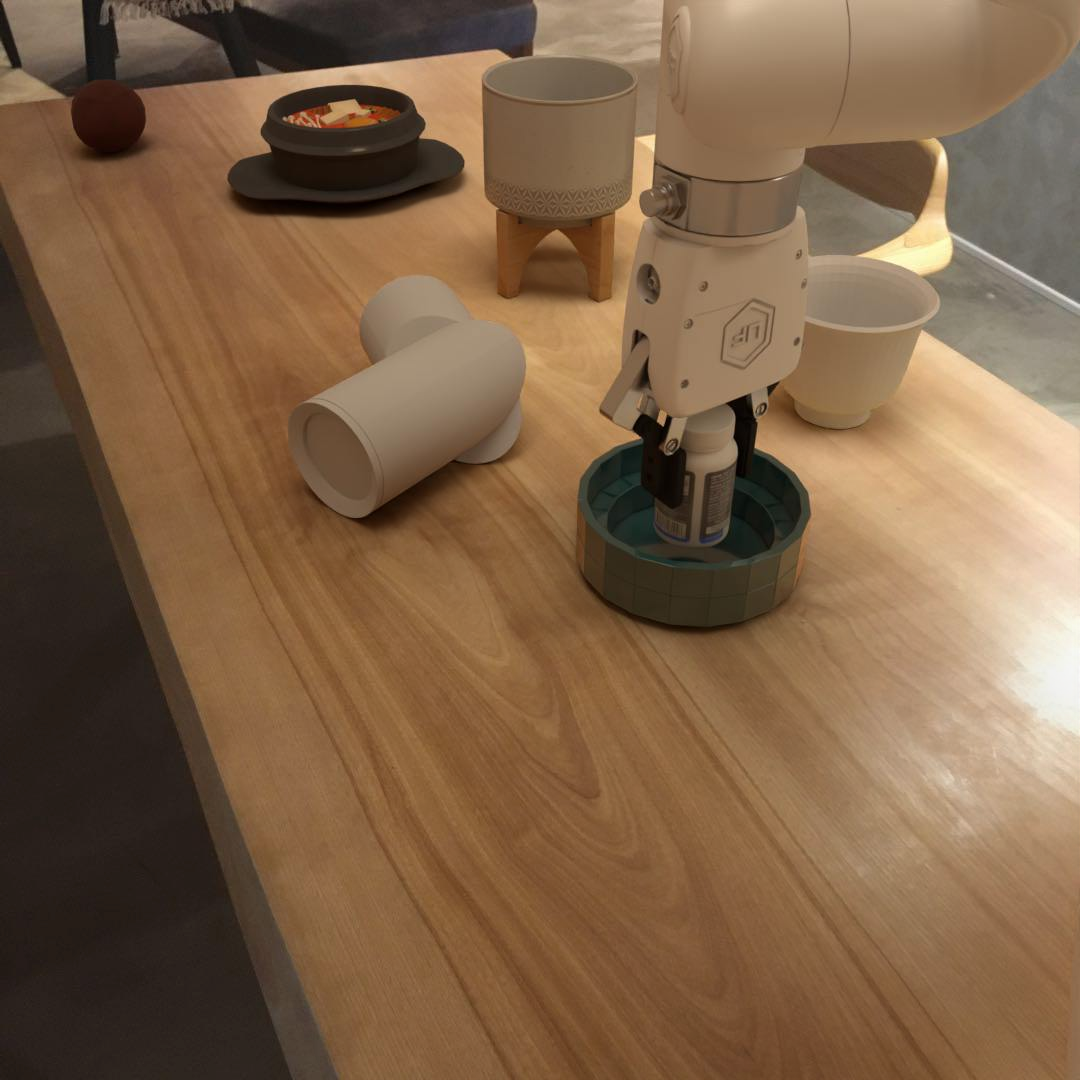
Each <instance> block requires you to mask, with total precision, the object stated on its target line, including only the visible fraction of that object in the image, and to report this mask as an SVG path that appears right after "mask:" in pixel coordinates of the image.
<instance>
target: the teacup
mask: <svg viewBox="0 0 1080 1080" xmlns="http://www.w3.org/2000/svg"><path fill="white" fill-rule="evenodd" d="M940 306H941V300H940V297H939V294H938V292H937V290H935V288H934V286H933V285H931V283H930V282H929V281H928V280H927V279H925V278H924V277H923V276H922V275H920V274H918V273H916V272H915V271H913V270H911V269H909V268H907V267H904V266H902V265H899V264H897V263H892V262H890V261H885V260H882V259H877V258H873V257H866V256H858V255H849V254H848V255H847V254H827V255H826V254H825V255H815V256H810V257H809V256H808V290H807V303H806V314H805V325H804V333H803V340H804V343H805V345H804V349H803V350H802V352H801V353H800V358H799V362H798V364H797V367H796V368H795V370H794V371H793V372H792V373H791V374H789V375H788V376H787V377H785V378H784V379H782V380H781V381H780V383H781V385H782V386H783V388H784V390H785V391H786V392H787V394H788V395H789V396H791V397H792V398H793V399H794V403H793V405H794V410H795V411H796V414H798V416H799V417H800V418H802V419H803V420H805V421H806V422H808V423H810V424H812V425H815V426H818V427H821V428H826V429H833V430H834V429H835V430H845V429H851V428H856V427H858V426H861V425H864V423H866V422H867V421H868V420H869V418H870V417H871V414H872V412H871V411H872V410H876V409H878V408H879V407H882V406H883V405H884V404H886V403H887V402H889V401H890V399H891V398H893V396H894V395H895V394H896V393H897V391H898V389H899V388H900V386H901V384H902V382H903V379H904V377H905V376H906V373H907V371H908V368H909V365H910V362H911V359H912V356H913V354H914V351H915V348H916V345H917V342H918V340H919V337H920V335H921V333H922V331H923V328H924V326H925V324H926V323H927V322H928V321H929V320H931V319H932V318H933V317H934V316H935V315H936V314H937V313H938V311H939V310H940Z"/></svg>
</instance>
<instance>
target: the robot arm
mask: <svg viewBox="0 0 1080 1080" xmlns="http://www.w3.org/2000/svg"><path fill="white" fill-rule="evenodd" d="M662 6H663V7H662V20H661V22H662V23H661V35H660V37H661V39H660V51H659V52H660V53H659V54H660V55H659V68H658V69H659V70H658V85H657V86H658V87H657V103H656V119H655V134H654V152H653V164H652V165H653V166H652V181H651V182H652V184H651V188H648V189H645V190H642V191H641V192H640V195H639V197H638V202H639V208H640V210H641V213H642V214H643V216H645V217H646V219H644V220H643V222H642V225H641V229H640V232H639V236H638V240H637V244H636V248H635V251H634V257H633V261H632V265H631V271H630V277H629V282H628V288H627V294H626V302H625V309H624V318H623V324H622V325H623V326H622V339H621V356H620V357H621V359H620V360H621V369H620V371H619V373H618V374H617V376H616V378H615V380H614V381H613V382H612V384H611V386H610V388H609V390H608V391H607V393H606V395H604V398H603V399H602V401H601V403H600V405H599V408H598V411H599V414H600V415H602V416H603V417H604V418H606V419H607V420H609V421H610V422H611V423H612V424H615V425H616V426H618V427H620V428H623V429H625V430H627V431H629V432H632V433H634V434H636V435H637V436H639V438H643V450H642V465H641V485H642V487H643V488H644V489H645V490H646V491H648V492H649V493H650V494H652V495H653V496H654V497H656V498H657V499H658V500H660V501H661V502H662V503H664V504H665V505H666V506H668V507H669V508H670V509H674V508H676V507H679V506H680V505H681V503H682V501H683V491H684V480H685V470H686V459H687V454H686V451H685V450H684V449H682V448H681V447H680V442H681V439H682V436H683V433H684V429H685V426H686V423H687V419H688V417H689V416H692V415H695V414H698V413H701V412H704V411H706V410H709V409H711V408H714V407H716V406H719V405H722V404H724V403H725V404H727V405H728V406H729V407H731V408H732V410H733V411H734V414H735V428H734V435H733V439H734V440H735V442H736V444H737V448H738V456H737V463H736V472H735V475H736V476H737V477H740V478H745V477H747V476H749V475H750V474H751V470H752V463H753V455H754V448H756V447H755V446H756V440H757V432H758V425H759V422H758V421H757V420H759V419H761V418H763V417H764V416H765V415H766V414H767V412H768V410H769V406H770V405H769V403H770V402H769V397H771V395H772V393H774V390H775V389H776V388H777V386H778V385H779V384H780V383H781V380H782V379H784V378H785V377H787V376H788V375H789V374H791V373H792V372H793V371H794V370H795V368H796V367H797V364H798V362H799V358H800V353H801V352H802V350H803V349H804V345H805V343H804V340H803V333H804V325H805V314H806V303H807V290H808V258H809V236H808V226H807V218H806V212H805V210H804V209H803V207H801V206H800V205H799V199H800V192H801V191H800V190H801V183H802V176H803V169H804V161H805V157H806V156H805V155H806V149H810V148H811V149H812V148H816V147H826V146H839V145H855V144H871V143H872V144H873V143H888V142H909V141H923V140H932V139H938V138H943V137H948V136H951V135H955V134H959V133H962V132H964V131H967V130H969V129H971V128H973V127H975V126H977V125H980V124H981V123H984V122H985V121H987V120H989V119H990V118H993V117H994V116H995V115H997V114H999V113H1000V112H1002V111H1003V110H1005V109H1006V108H1007V107H1009V106H1010V105H1011V104H1013V103H1014V102H1016V101H1017V100H1019V99H1020V98H1021V97H1023V96H1024V95H1025V94H1027V93H1028V92H1029V91H1031V90H1032V89H1034V88H1035V87H1036V86H1038V85H1039V84H1040V83H1041V82H1043V81H1044V80H1045V79H1047V78H1048V77H1049V76H1051V75H1052V74H1053V73H1054V72H1055V71H1056V70H1057V69H1058V68H1060V66H1062V65H1063V64H1064V62H1065V61H1066V60H1067V59H1068V58H1069V56H1070V55H1071V54H1072V53H1073V51H1074V50H1075V49H1076V47H1077V46H1078V44H1079V42H1080V0H663V5H662ZM640 400H641V401H640ZM639 402H640V403H639ZM638 403H639V407H638ZM661 411H662V412H664V413H665V414H666V416H665V419H664V423H663V425H662V424H661V423H660V422H658V419H659V416H660V412H661ZM1077 897H1078V898H1077V905H1076V906H1077V907H1076V908H1077V909H1076V917H1075V927H1074V935H1073V936H1074V937H1073V947H1072V957H1071V966H1070V982H1069V1003H1068V1004H1069V1006H1068V1021H1067V1022H1068V1023H1067V1046H1066V1065H1065V1080H1080V887H1079V889H1078V896H1077Z"/></svg>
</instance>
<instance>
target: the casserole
mask: <svg viewBox="0 0 1080 1080" xmlns="http://www.w3.org/2000/svg"><path fill="white" fill-rule="evenodd" d="M426 125H427V123H426V120H425V118H424V117H423V116H422V115H421V114H419V111H418V109H417V107H416V104H415V102H414V100H413V99H412V98H411V97H410V96H409V95H407V94H405V93H404V92H401V91H398V90H396V89H392V88H388V87H383V86H375V85H366V84H335V85H323V86H315V87H310V88H305V89H301V90H296V91H294V92H290V93H288V94H285V95H283V96H281V97H279V98H277V99H276V100H274V101H272V103H271V104H269V107H268V109H267V113H266V118H265V121H264V122H263V123H262V125H261V128H260V130H259V131H260V136H261V137H262V139H263V140H264V142H266V143H267V144H268V145H269V149H270V151H269V152H266V153H261V154H257V155H256V154H255V155H252V156H248V157H243V158H242V159H239V160H238V161H237V162H236V163H235V164H234V165H232V166H231V167H230V169H229V170H228V173H227V182H228V184H229V186H230V188H232V189H233V190H235V192H237V193H238V194H241V195H243V196H245V197H247V198H250V199H253V200H262V201H263V200H265V201H267V200H270V201H271V200H272V201H282V200H283V201H286V200H287V201H290V200H291V201H304V202H315V203H316V202H317V203H322V204H323V203H324V204H335V205H344V204H345V205H347V204H348V205H349V204H360V203H361V204H362V203H367V202H373V201H377V200H382V199H384V198H389V197H392V196H397V195H399V194H403V193H406V192H408V191H411V190H414V189H416V188H419V187H421V186H424V185H428V184H434V183H438V182H442V181H446V180H448V179H452V178H453V177H456V176H457V175H459V174H461V173H462V171H463V170H464V168H465V161H466V160H465V159H464V158H465V157H464V156H463V154H462V153H461V152H459V151H458V150H457V149H456V148H454V146H451V145H449V144H447V143H446V142H443V141H441V140H438V139H435V138H434V139H433V138H423V137H421V135H422V134H423V133H424V131H425V130H426Z"/></svg>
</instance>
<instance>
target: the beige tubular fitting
mask: <svg viewBox="0 0 1080 1080" xmlns="http://www.w3.org/2000/svg"><path fill="white" fill-rule="evenodd" d="M358 327H359V328H358V330H359V331H358V332H359V340H360V343H361V346H362V349H363V351H364V353H365V355H366V356H367V358H368V360H369V362H370V364H371V365H370V366H368V367H366V368H365V369H363V370H361V371H359V372H357V373H355V374H354V375H351V376H350V377H348V378H346V379H344V380H342V381H340V382H339V383H336V384H334V385H333V386H331V387H329V388H328V389H326V390H324V391H322V392H320V393H318V394H316V395H314V396H312V397H311V398H309V399H307V400H304V401H303V402H301V403H300V404H298V405H297V406H295V407H294V408H293V410H292V411H291V413H290V414H289V417H288V423H287V438H288V444H289V447H290V451H291V454H292V458H293V460H294V462H295V465H296V467H297V468H298V471H299V473H300V474H301V476H302V478H303V479H304V481H305V482H306V484H307V485H308V487H309V488H310V489H311V491H312V492H313V493H314V494H315V495H316V496H317V498H318V499H319V500H320V501H321V502H323V503H324V505H326V506H327V507H328V508H330V509H331V510H333V511H334V512H336V513H338V514H339V515H342V516H344V517H347V518H350V519H351V518H352V519H360V518H363V517H366V516H368V515H369V514H371V513H372V512H374V511H376V510H377V509H379V508H380V507H382V506H384V505H385V504H387V503H388V502H390V501H391V500H393V499H394V498H396V497H398V496H399V495H401V494H402V493H403V492H406V491H407V490H409V489H410V488H412V487H413V486H414V485H416V484H418V483H420V482H421V481H422V480H424V479H425V478H427V477H428V476H430V475H433V473H435V472H436V471H438V470H439V469H441V468H443V467H445V466H446V465H447V464H449V463H450V462H452V461H456V462H460V463H464V464H474V465H477V464H485V463H489V462H494V461H495V460H497V459H499V458H501V457H502V456H504V455H505V454H506V453H507V452H508V451H510V449H511V448H512V446H513V445H514V444H515V442H516V440H517V438H518V435H519V433H520V430H521V425H522V417H523V416H522V415H523V414H522V413H523V412H522V411H523V410H522V408H523V407H522V402H521V401H522V400H521V394H522V390H523V387H524V384H525V378H526V374H527V373H526V372H527V358H526V354H525V350H524V347H523V345H522V342H521V340H519V338H518V337H517V335H516V334H515V333H514V332H513V331H512V330H511V329H510V328H508V327H507V326H505V325H503V324H502V323H499V322H496V321H494V320H489V319H475V318H474V316H473V315H472V314H471V312H470V311H469V309H468V308H467V307H466V306H465V304H464V303H463V301H462V300H461V299H460V298H459V296H458V295H457V293H456V292H455V291H454V290H453V288H452V287H451V286H449V284H447V283H445V282H444V281H442V280H441V279H439V278H437V277H433V276H430V275H426V274H410V275H404V276H400V277H397V278H395V279H393V280H390V281H389V282H387V283H386V284H384V285H383V286H381V287H380V288H378V290H377V291H375V292H374V293H373V295H371V297H369V299H368V300H367V303H366V304H365V306H364V308H363V310H362V312H361V316H360V319H359V326H358Z"/></svg>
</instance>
